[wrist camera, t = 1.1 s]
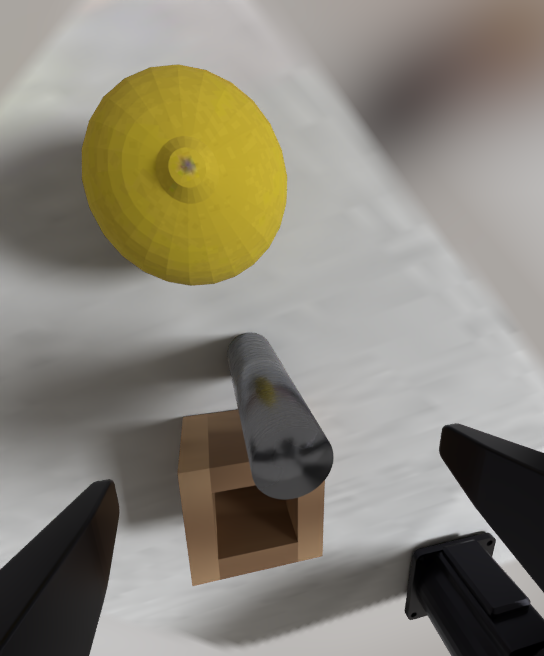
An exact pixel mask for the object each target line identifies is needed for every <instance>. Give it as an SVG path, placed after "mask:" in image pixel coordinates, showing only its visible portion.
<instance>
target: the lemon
mask: <svg viewBox="0 0 544 656" xmlns="http://www.w3.org/2000/svg"><path fill="white" fill-rule="evenodd" d="M82 182H83V185H84V189H85V193H86V197H87V200H88V204H89V208H90V210H91V212H92V214H93V215H94V217H95V219H96V221H97V223H98V225H99V227H100V228H101V230H102V232H103V234H104V235H105V237H106V238H107V239H108V240H109V241H110V242H111V243H112V245H113V246H114V247H115V248H116V249H117V250H118V252H119V253H120V254H121V255H122V256H123V257H124V258H126V259H127V260H129V261H130V262H131V263H133V264H134V265H136V266H137V267H138V268H140V269H141V270H142V271H144V272H146V273H148V274H151V275H153V276H156V277H158V278H160V279H163V280H165V281H168V282H173V283H179V284H185V285H191V286H192V285H205V284H215V283H218V282H221V281H223V280H226V279H229V278H232V277H235V276H237V275H238V274H240V273H241V272H243V271H244V270H246V269H247V268H249V267H250V266H252V265H253V264H254V263H255V262H256V261H257V260H258V259H259V258H260V257H261V256H262V255H263V254H264V252H265V251H266V250H267V249H268V248H269V247H270V245H271V243H272V241H273V239H274V237H275V235H276V233H277V232H278V230H279V228H280V225H281V221H282V217H283V214H284V210H285V206H286V197H287V174H286V169H285V164H284V159H283V154H282V150H281V147H280V145H279V143H278V141H277V138H276V136H275V134H274V131H273V129H272V127H271V125H270V123H269V122H268V120H267V119H266V118H265V116H264V115H263V113H262V112H261V111H260V109H259V108H258V107H257V105H256V104H255V103H254V101H253V100H252V99H250V98H249V97H248V96H247V95H246V94H244V93H243V92H242V91H241V90H240V89H238V88H237V87H236V86H235V85H234V84H232V83H231V82H229V81H227V80H225V79H223V78H221V77H219V76H217V75H215V74H213V73H211V72H209V71H207V70H203V69H198V68H193V67H188V66H183V65H169V66H159V67H150V68H148V69H145V70H143V71H141V72H138V73H136V74H134V75H131V76H129V77H127V78H124V79H123V80H122V81H121V82H120V83H119V84H118V85H116V86H115V87H114V88H113V89H112V90H111V91H110V92H108V93H107V94H106V95H105V96H104V97H103V98H102V100H101V102H100V103H99V105H98V107H97V109H96V110H95V112H94V114H93V115H92V117H91V119H90V120H89V123H88V127H87V131H86V135H85V138H84V142H83V146H82Z"/></svg>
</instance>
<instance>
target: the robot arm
mask: <svg viewBox="0 0 544 656" xmlns="http://www.w3.org/2000/svg"><path fill="white" fill-rule="evenodd" d="M439 452H440V456H441V458H442V459H443V461H444V462H445V464H446V465H447V467H448V468H449V470H450V471H451V473H452V474H453V476H454V477H455V479H456V480H457V482H458V483H459V484H460V486H461V487H462V489H463V490H464V492H465V493H466V495H467V496H468V498H469V499H470V501H471V502H472V503H473V505H474V506H475V508H476V509H477V510H478V511H479V513H480V514H481V515H482V517H483V518H484V519H485V520H486V522H487V523H488V524H489V525H490V527H491V528H492V529H493V530H494V531H495V533H496V534H497V535H498V536H499V538H500V539H501V540H502V541H503V543H504V544H505V545H506V546H507V548H508V549H509V550H510V551H511V553H512V554H513V555H514V556H515V558H516V559H517V560H518V561H519V563H520V564H521V565H522V566H523V568H524V569H525V570H526V571H527V572H528V574H529V575H530V576H531V577H532V579H533V580H534V581H535V582H536V583H537V585H538V586H539V587H540V589H541V590H542V591H543V592H544V453H542V452H539V451H536V450H533V449H530V448H528V447H525V446H522V445H519V444H516V443H513V442H510V441H507V440H504V439H502V438H499V437H496V436H493V435H490V434H487V433H484V432H481V431H478V430H476V429H473V428H470V427H467V426H464V425H461V424H450V425H445V426H444V427H443V428H442V433H441V439H440V446H439ZM118 520H119V503H118V498H117V493H116V489H115V484H114V482H113V480H111V479H108V480H102V481H96V482H94V483H92V484H91V485H90V486H89V487H88V488H87V489H86V490H84V491H83V492H82V493H81V494H80V495H79V496H78V497H77V498H76V499H75V500H74V501H73V502H72V503H71V504H70V505H68V506H67V507H66V508H65V509H64V510H63V511H62V512H61V513H60V514H59V515H58V516H57V517H56V518H55V519H54V520H53V521H51V522H50V523H49V524H48V525H47V526H46V527H45V528H44V529H43V530H42V531H41V532H40V533H39V534H38V535H37V536H36V537H34V538H33V539H32V540H31V541H30V542H29V543H28V544H27V545H26V546H25V547H24V548H23V549H22V550H21V551H20V552H18V553H17V554H16V555H15V556H14V557H13V558H12V559H11V560H10V561H9V562H8V563H7V564H6V565H5V566H4V567H3V568H1V569H0V656H89V654H90V650H91V647H92V643H93V639H94V636H95V632H96V628H97V625H98V621H99V617H100V613H101V610H102V606H103V602H104V598H105V594H106V590H107V586H108V580H109V575H110V569H111V562H112V556H113V550H114V544H115V538H116V532H117V526H118ZM495 542H496V539H495V538H494V537H493V536H492V535H491V534H490V533H484V534H480V535H476V536H472V537H467V538H463V539H459V540H455V541H451V542H447V543H443V544H439V545H434V546H430V547H426V548H422V549H419V550H417V551H415V552H414V553H413V556H412V562H411V570H410V577H409V584H408V591H407V598H406V605H405V613H406V615H407V617H408V619H410V620H413V619H417V618H420V617H423V616H427V615H428V617H429V618H430V620H431V622H432V624H433V625H434V627H435V629H436V630H437V632H438V634H439V635H440V637H441V639H442V641H443V642H444V644H445V646H446V647H447V649H448V651H449V652H450V654H451V656H544V619H543V618H542V616H541V615H540V614H539V613H538V612H537V611H536V610H535V609H534V608H533V606H532V605H531V604H530V600H529V598H528V597H527V596H526V595H525V594H524V593H523V591H522V590H521V589H520V588H519V587H518V586H517V585H516V584H515V582H514V581H513V580H512V579H511V578H510V577H509V576H508V575H507V574H506V572H504V570H503V569H502V568H501V567H500V566H499V565H498V563H497V562H496V561H495V560H494V559H493V558H492V555H493V551H494V546H495Z"/></svg>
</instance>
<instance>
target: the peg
mask: <svg viewBox="0 0 544 656" xmlns="http://www.w3.org/2000/svg"><path fill="white" fill-rule="evenodd" d="M227 358H228V363H229V368H230V372H231V377H232V382H233V387H234V392H235V396H236V401H237V406H238V411H239V416H240V420H241V425H242V430H243V435H244V440H245V444H246V449H247V454H248V459H249V464H250V468H251V473H252V478H253V481H254V483H255V485H256V486H257V488H258V489H259V490H260V491H261V492H262V493H264V494H265V495H267V496H269V497H272V498H276V499H283V500H285V499H294V498H298V497H301V496H304V495H306V494H308V493H310V492H312V491H313V490H315V489H316V488H317V487H318V486H320V485H321V484H322V483H323V481H324V480H325V479H326V477H327V476H328V474H329V472H330V470H331V468H332V464H333V450H332V447H331V444H330V443H329V441H328V439H327V438H326V436H325V434H324V433H323V431H322V429H321V428H320V426H319V424H318V423H317V421H316V420H315V418H314V416H313V415H312V413H311V411H310V410H309V408H308V406H307V405H306V403H305V401H304V400H303V398H302V396H301V395H300V393H299V392H298V390H297V388H296V387H295V385H294V383H293V382H292V380H291V378H290V377H289V375H288V373H287V372H286V370H285V368H284V367H283V365H282V363H281V362H280V360H279V359H278V357H277V355H276V354H275V352H274V350H273V349H272V347H271V345H270V344H269V342H268V341H267V339H265V338H264V337H263V336H261V335H259V334H256V333H245V334H242V335H240V336H238V337H237V338H235V339H234V340H233V341H232V343H231V344H230V346H229V348H228V352H227Z"/></svg>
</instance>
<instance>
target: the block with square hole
mask: <svg viewBox="0 0 544 656" xmlns="http://www.w3.org/2000/svg"><path fill="white" fill-rule="evenodd" d="M177 474H178V481H179V489H180V496H181V504H182V511H183V518H184V526H185V533H186V541H187V548H188V556H189V563H190V571H191V578H192V585H193V586H195V585H200V584H204V583H208V582H213V581H217V580H221V579H226V578H230V577H234V576H238V575H243V574H247V573H251V572H256V571H260V570H264V569H269V568H273V567H277V566H282V565H286V564H290V563H295V562H299V561H303V560H308V559H312V558H316V557H321V556H322V552H323V519H324V486H325V480H324V481H323V483H322V484H321V485H320V486H318V487H317V488H316V489H315V490H313V491H312V492H310V493H308V494H306V495H304V496H301V497H298V498H294V499H285V500H283V499H276V498H272V497H269V496H267V495H265V494H264V493H262V492H261V491H260V490H259V489H258V488H257V486H256V485H255V483H254V481H253V478H252V473H251V468H250V464H249V459H248V454H247V449H246V444H245V440H244V435H243V430H242V425H241V420H240V416H239V411H238V410H232V411H224V412H216V413H209V414H201V415H194V416H186V417H183V422H182V432H181V443H180V453H179V463H178V473H177Z"/></svg>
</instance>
